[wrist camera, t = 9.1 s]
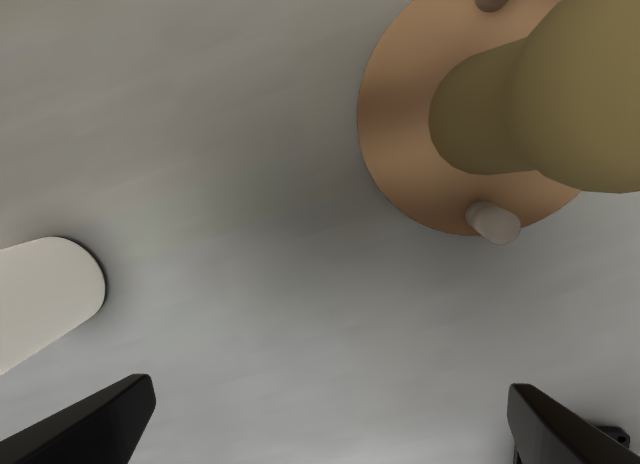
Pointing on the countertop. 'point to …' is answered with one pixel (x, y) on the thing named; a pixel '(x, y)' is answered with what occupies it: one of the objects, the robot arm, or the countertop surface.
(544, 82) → the cork
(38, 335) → the can
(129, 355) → the countertop surface
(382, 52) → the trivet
